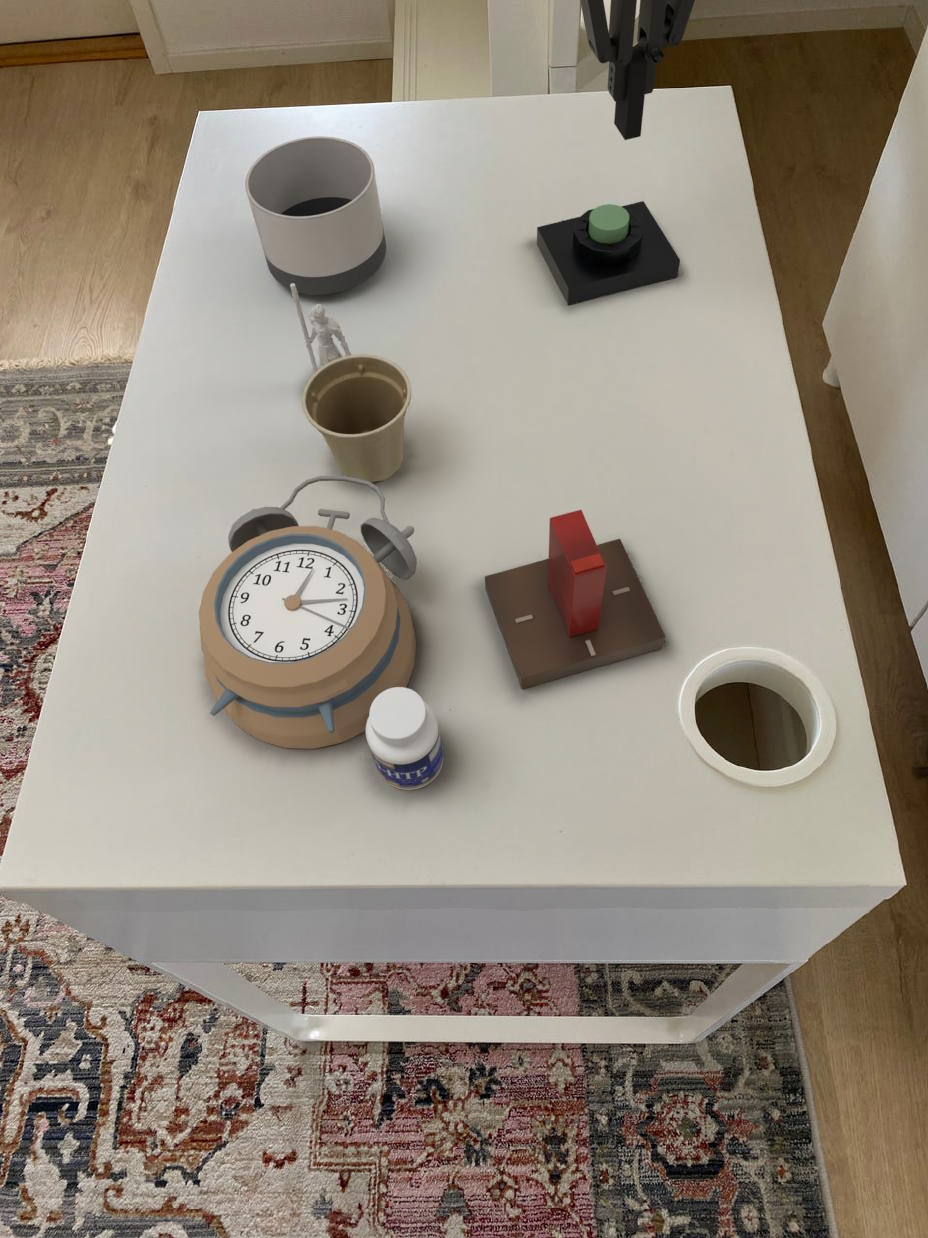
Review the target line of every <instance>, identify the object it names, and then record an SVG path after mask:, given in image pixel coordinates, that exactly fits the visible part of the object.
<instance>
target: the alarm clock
mask: <svg viewBox="0 0 928 1238" xmlns="http://www.w3.org/2000/svg"><path fill="white" fill-rule="evenodd" d="M318 482H345V483H346V482H347V483H352V484H357V485H361V486H366V487H368V488H370V489H371V490H372V491H374V492H376V494H377V496H378V498H379V500H380V515H381V516H382V518H377V517H371V518H370V517H369V518H367V519H366V520H365V521H364V522H363V523H362V524H360V525H359V526H360V534H361V536H362V538H363V541H364V543H365V544H366V546H367V547H368V549H369V550H368V549H366V548H365V547H364V546H363V545H361V543H360V542H359V541H358V540H356V539H353V538H352V537H350V536H348V535H346V534H344V533H342V532H340V531H338V530H333V528H334V524H335V521H336V519H341V520H342V519H344V520H349V518H350V517H351V514H350V512H348V511H345V510H333V509H325V508H319V509H318V510H317V515H318V516H320V517H325V518H329V519H328V522H327V526H326V527H321V526H316V525H315V526H314V525H312V526H311V525H309V526H308V525H299V522H298V520H297V519H296V518H295V516H293V514H292V513H291V512H290V511H288V510H287V508H288V507H289V506H291V505H292V504H293V502H294V501H295V498H296V497H297V495H298V493H299V492H301V491H302V490H304V489H305V488H306V487H307V486H309V485H312V484H314V483H318ZM385 505H386V498H385V496H384V494H383V492H382V491H381V489H380V487H379V486H377V485H376V484H375V483H373V482H369V481H365V480H362V479H358V478H352V477H347V476H345V475H318V476H315V477H312V478H308V479H306V480H304V481H303V482H302V483H300V484H299V485H298V486H296V487H295V488H294V490H293V492H292V493H291V495H290V497H289V499H288V500H287V501H285V502H284V503H283V504H282V505H281V506H280V507H279V506H263V507H258V508H252V509H251V510H249V511H247V512H246V513H245V514H243V515H241V516H240V517H239V518H238V519H237V520H236V521H234V523H233V524H232V525H231V528H230V530H229V532H228V536H227V541H228V545H229V546H228V547H229V550H230V552H231V553H229V554H228V555H226V557H225V558H224V559H223V561H222V562H221V563H220V564H219V565H218V566H217V567H216V569H215V570H214V571H213V572H212V574H211V576H210V578H209V580H208V582H207V584H206V585H205V588H203V592H202V595H201V600H200V605H199V610H198V619H199V634H200V635H199V636H200V646H201V647H200V648H201V651H202V653H203V661H204V671H205V677H206V679H207V682H208V684H209V686H210V689H211V691H212V693H213V696H214V698H215V699H216V703H215V704H214V706H213V707H212V709H211V710H210V712H209V714H210V716H213V717H215V716H216V715H217V714H218V713H220V712H221V711H222V710H223V711H224V712H225V713H226V715H228V717H229V718H230V719H231V720H232V721H233V723H234V724H235V725H236V726H237V727H238V728H239V729H240V730H242V731H244V732H245V733H247V734H249V735H250V736H252V737H253V738H255V739H257V740H258V741H260V742H263V743H267V744H271V745H274V746H277V747H281V748H285V749H304V750H305V749H308V750H310V749H311V750H314V749H319V748H324V747H328V746H333V745H337V744H341V743H344V742H346V741H348V740H350V739H352V738H355V737H357V736H359V735H360V734H362V733H365V732H366V723H367V720H368V717H369V712H370V707H371V705H372V703H373V701H374V699H375V698H376V697H377V696H378V695H379V694H380V693H382V692H383V691H385V690H387V689H390V688H394V687H405V688H408V684H409V682H410V680H411V676H412V674H413V671H414V669H415V664H416V653H417V652H416V651H417V639H416V634H415V628H414V625H413V620H412V615H411V611H410V607H409V605H408V603H407V601H406V599H405V598H404V596H403V594H402V593H401V591H400V589H399V587H398V585H397V584H395V582H394V581H392V580H391V578H390V577H389V576H388V574H387V571H386V570H385V569H387V570H388V571H389V573H391V574H393V575H394V576H396V577H397V578H399V579H402V580H405V581H407V580H409V579H411V578H412V577H414V575H415V574H416V571H417V569H418V568H417V567H418V560H417V556H416V553H415V550H414V548H413V547H412V545H411V543H410V541H409V540H408V539H409V538H410V537H411V536H412V535H414V533H415V527H413V526H411V525H410V526H406V527H405V528H404V529H403V530H402V531H401V530H399V529H398V528H397V526H394V525H393V524H391V522H390V521H389V519H388V517H387V513H386V512H385V511H386V510H385ZM370 552H371V553H370Z"/></svg>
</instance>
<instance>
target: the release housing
mask: <svg viewBox="0 0 928 1238" xmlns="http://www.w3.org/2000/svg"><path fill="white" fill-rule="evenodd" d="M620 206H621V205H620ZM621 207H623V208H624V209H625V210H626V211H627V212H628V214H629V227H628V234H627V236H626V237H625V239H623V240H622V241H620V242H616V243H612V244H608V243H599V242H597V241H595V240H593V239H592V238H591V237H590V235H589V217H590V214H591V212H592V211H593V210H594V209H595V208H592V209H587V211H586V212H583V214H581V215H580V216H577V217H573V218H569V219H564V220H561V221H556V222H553V223H549V224H544V225H541V226H536V245H537V247H538V249H539V252H540V254H541V256H542V258H543V259H544V261H545V263H546V266H547V267H548V269H549V272H550V273H551V275H552V277H553V280H554V281H555V283H556V285H557V287H558V289H559V291H560V293H561V295H562V297H563V298H564V301H565V302H566V305H567V306H571V305H574V304H578V303H584V302H587V301H590V300H594V299H598V298H602V297H607V296H610V295H614V294H618V293H622V292H625V291H629V290H633V289H637V288H641V287H645V286H648V285H653V284H656V283H661V282H666V281H669V280H673V279H676V278H678V275H679V271H680V264H681V259H680V258H679V256H678V253H676V251H675V249H674V247H673V246H672V244H671V243H670V242H669V240H668V238H667V236H666V235H665V233H664V231H663V230H662V229H661V227H660V225H659V224H658V222H657V220H656V219H655V218H654V217H655V216H653V213H652V212H651V211H650V209H649V208H648V206H647V204H646V203H645V201H644V200H642V201H638V202H634V203H630V204H626V205H622V206H621Z"/></svg>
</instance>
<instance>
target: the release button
mask: <svg viewBox="0 0 928 1238" xmlns="http://www.w3.org/2000/svg"><path fill="white" fill-rule="evenodd" d="M593 209H594V210H593V211H592V212H591V214H590V217H589V235H590V237H591V238H592V239H593V240H595V241H597V242H599V243H608V244H612V243H616V242H620V241H622V240H623V239H625V237H626V236H627V234H628V227H629V214H628V212H627V211H626V210H625V209H624V208H623V207H621V205H617V204H611V203H606V204H602V205H601V204H600V205H599V206H597V207H595V208H593Z"/></svg>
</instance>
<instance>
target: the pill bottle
mask: <svg viewBox="0 0 928 1238" xmlns="http://www.w3.org/2000/svg"><path fill="white" fill-rule="evenodd" d="M440 731H441V730H440V725H439V721H438V718H437V714H436V713H435V711H434V710H433V708H432V707H431V706H430V705H429V704H428V703H426V702H425V701H424V699H423V698H422V696H420V694H419V693H418V692H416V691H414V689H411V688H409V687H406V688H405V687H394V688H390V689H387V690H385V691H383V692H382V693H380V694H379V695H378V696H377V697H376V698H375V699H374V701H373V703H372V705H371V707H370V712H369V717H368V720H367V723H366V731H365V737H366V741H367V744H368V748H369V750H370V753H371V756H372V758H373V761H374V764H375V767H376V769H377V772H378V773H379V775H380V777H381V778H382V780H383V781H385V783H386V784H388V785H390V786H392V787H393V788H396V789H399V790H404V791H413V790H418V789H421V788H424V787H426V786H427V785H429V784H430V783H432V782H433V781H434V780H435V779H436V778H437V776H438V775H439V774H440V772H441V770H442V767H443V764H444V748H443V742H442V736H441V732H440Z"/></svg>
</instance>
